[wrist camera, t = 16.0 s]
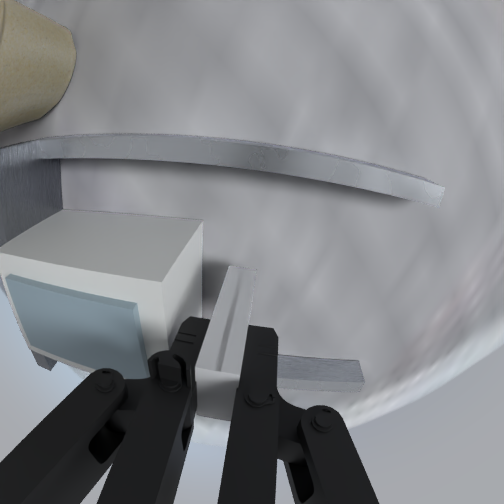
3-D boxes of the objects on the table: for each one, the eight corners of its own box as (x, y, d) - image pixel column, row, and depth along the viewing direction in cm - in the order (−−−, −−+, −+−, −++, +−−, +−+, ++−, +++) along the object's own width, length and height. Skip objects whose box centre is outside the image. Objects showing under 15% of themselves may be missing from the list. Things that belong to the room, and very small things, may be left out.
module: (62, 209, 14) (-12, 254, 9) (203, 220, 14) (157, 288, 8) (78, 293, 17) (25, 353, 11) (202, 316, 17) (173, 402, 11)
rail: (46, 137, 13) (-16, 152, 8) (424, 178, 12) (482, 206, 8) (71, 321, 18) (38, 365, 14) (354, 370, 18) (367, 428, 14)
